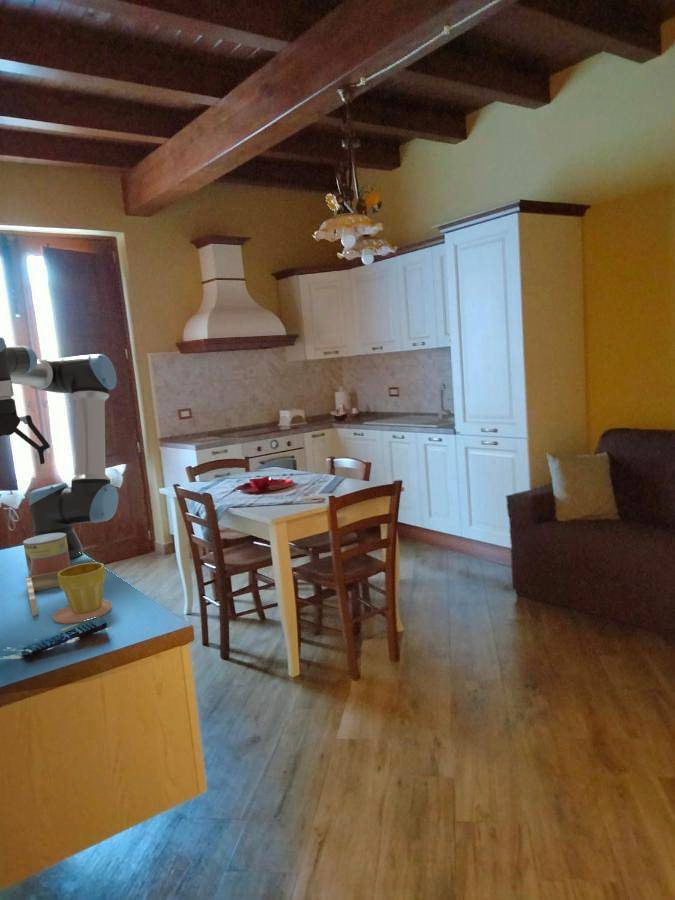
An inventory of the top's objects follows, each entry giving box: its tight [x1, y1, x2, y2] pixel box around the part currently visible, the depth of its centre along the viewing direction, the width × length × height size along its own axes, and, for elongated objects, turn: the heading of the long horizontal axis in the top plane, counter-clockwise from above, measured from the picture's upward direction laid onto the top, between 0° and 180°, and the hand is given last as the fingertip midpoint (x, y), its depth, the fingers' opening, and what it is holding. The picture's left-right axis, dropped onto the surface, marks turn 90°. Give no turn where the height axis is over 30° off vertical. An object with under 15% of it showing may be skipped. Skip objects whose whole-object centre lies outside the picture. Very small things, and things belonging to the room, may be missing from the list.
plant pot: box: [58, 561, 107, 614], centre depth 155 cm, size 10×10×10 cm
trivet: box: [52, 599, 113, 625], centre depth 155 cm, size 13×13×1 cm
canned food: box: [22, 533, 72, 577], centre depth 186 cm, size 11×11×12 cm
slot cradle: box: [25, 570, 61, 617], centre depth 170 cm, size 22×16×4 cm
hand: (11, 481), depth 169 cm, fingers open, 13 cm apart
